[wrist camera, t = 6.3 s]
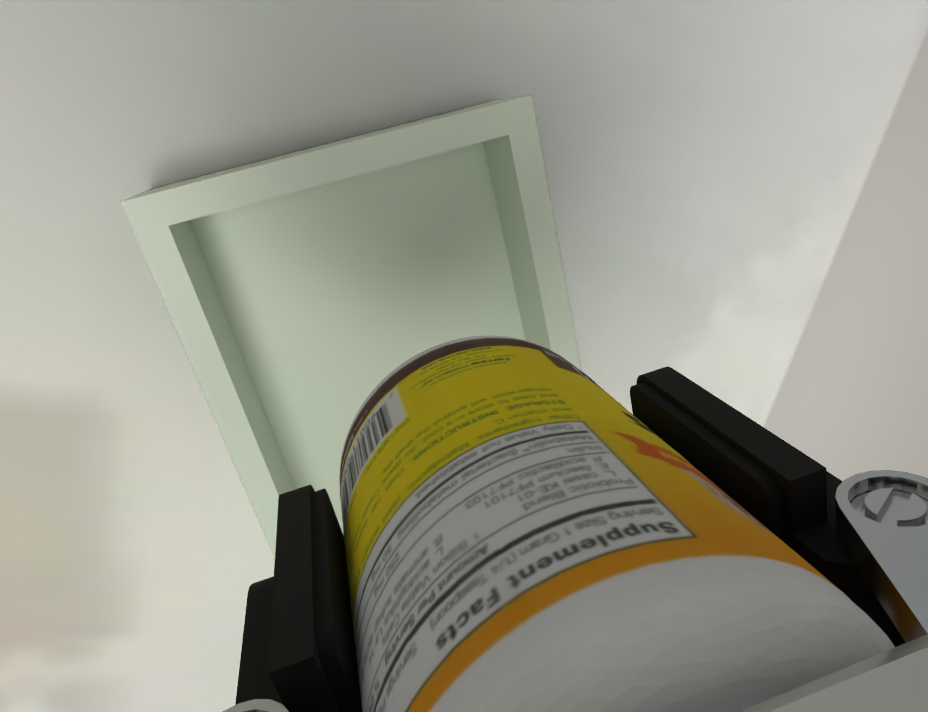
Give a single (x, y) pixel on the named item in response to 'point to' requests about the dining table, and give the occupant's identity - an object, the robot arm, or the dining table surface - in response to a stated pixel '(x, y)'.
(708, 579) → the supplement bottle
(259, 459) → the tote
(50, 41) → the dining table surface
